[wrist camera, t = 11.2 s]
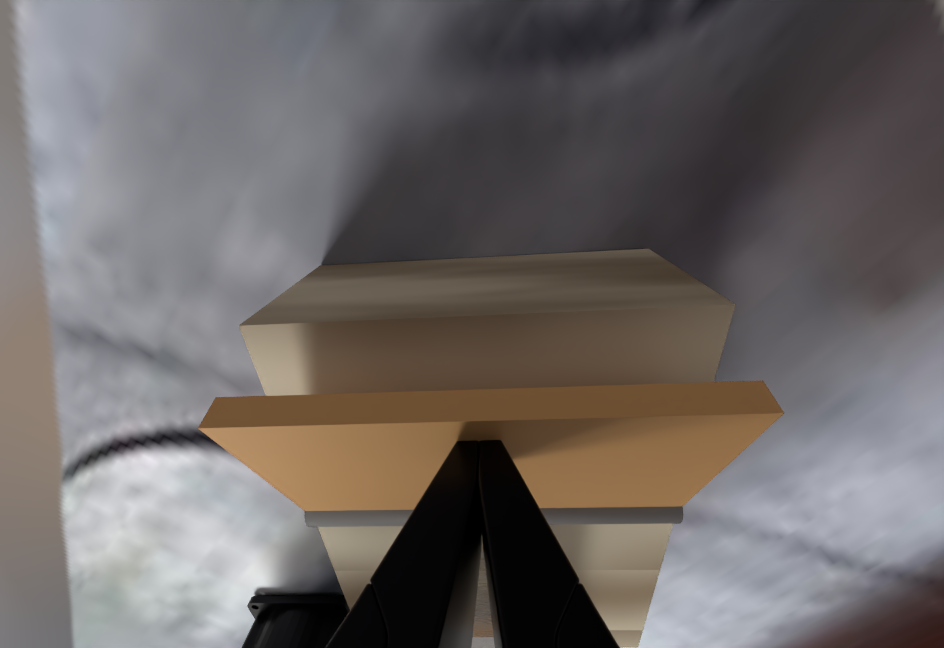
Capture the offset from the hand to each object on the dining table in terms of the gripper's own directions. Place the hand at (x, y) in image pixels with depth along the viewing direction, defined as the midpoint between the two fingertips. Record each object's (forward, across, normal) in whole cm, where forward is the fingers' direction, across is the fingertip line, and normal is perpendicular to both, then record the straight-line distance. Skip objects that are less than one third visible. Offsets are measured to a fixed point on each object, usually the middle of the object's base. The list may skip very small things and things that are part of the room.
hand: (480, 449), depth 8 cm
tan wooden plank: (+1, 0, +1) cm, 2 cm away
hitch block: (+7, 0, +6) cm, 9 cm away
